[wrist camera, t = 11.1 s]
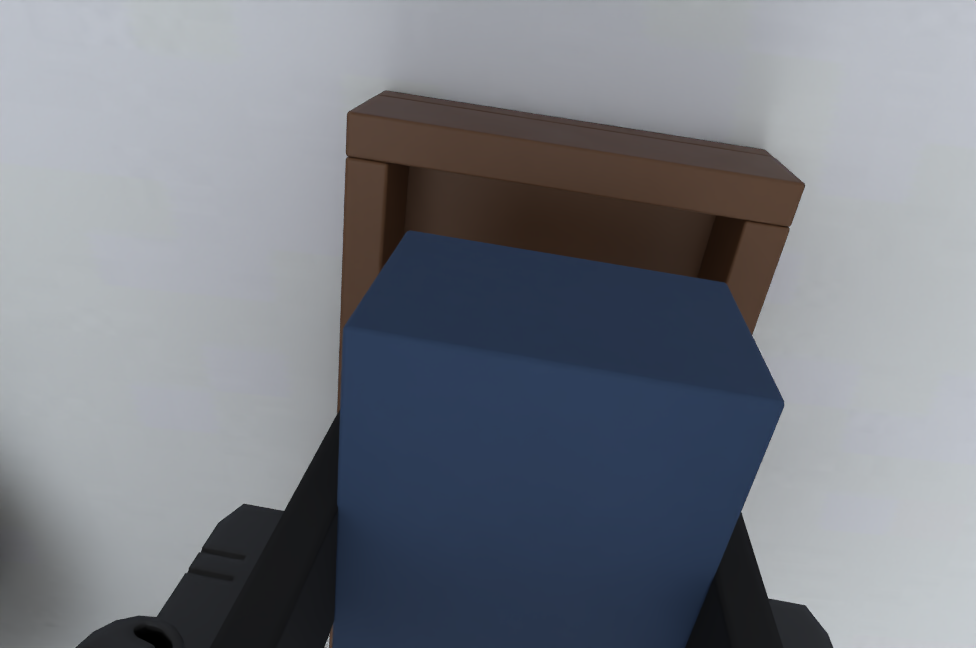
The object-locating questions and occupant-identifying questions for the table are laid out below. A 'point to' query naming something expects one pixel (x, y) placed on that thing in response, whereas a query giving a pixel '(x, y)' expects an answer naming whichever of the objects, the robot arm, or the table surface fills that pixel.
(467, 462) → the pad
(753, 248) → the wooden tray
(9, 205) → the table surface
